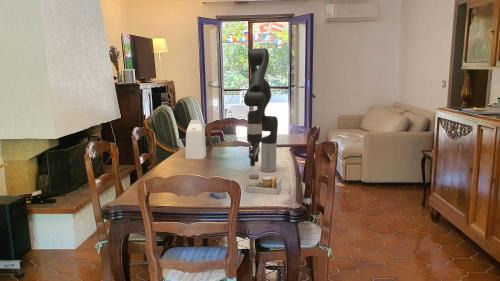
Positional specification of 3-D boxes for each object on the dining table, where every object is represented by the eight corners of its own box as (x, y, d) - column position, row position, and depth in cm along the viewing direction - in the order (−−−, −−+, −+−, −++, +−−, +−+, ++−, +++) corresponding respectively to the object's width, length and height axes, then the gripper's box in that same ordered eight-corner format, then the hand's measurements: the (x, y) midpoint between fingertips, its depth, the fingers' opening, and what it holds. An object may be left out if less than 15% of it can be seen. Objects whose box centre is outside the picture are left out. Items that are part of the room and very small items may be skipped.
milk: (206, 155, 283) (205, 119, 278) (202, 159, 272) (202, 121, 267) (189, 155, 284) (188, 118, 280) (185, 158, 273) (184, 120, 268)
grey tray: (251, 185, 209) (251, 174, 208) (281, 188, 206) (281, 176, 205) (246, 192, 199) (246, 180, 198) (277, 194, 195) (278, 182, 194)
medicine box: (209, 195, 193) (209, 177, 192) (216, 193, 196) (216, 176, 195) (219, 199, 188) (219, 181, 186) (226, 196, 191) (226, 179, 189)
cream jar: (250, 187, 207) (250, 174, 205) (259, 188, 206) (260, 174, 204) (247, 190, 202) (247, 176, 200) (257, 191, 201) (257, 177, 199)
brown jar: (262, 188, 205) (262, 175, 203) (272, 188, 204) (272, 175, 203) (261, 191, 200) (261, 178, 198) (271, 192, 199) (272, 178, 198)
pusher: (274, 187, 205) (274, 176, 204) (276, 187, 205) (276, 176, 204) (271, 192, 197) (272, 180, 196) (273, 192, 197) (274, 180, 196)
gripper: (250, 129, 206) (250, 160, 209) (243, 134, 192) (243, 166, 195) (264, 130, 204) (264, 161, 207) (259, 134, 191) (258, 167, 194)
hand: (254, 163), depth 201 cm, fingers open, 8 cm apart
